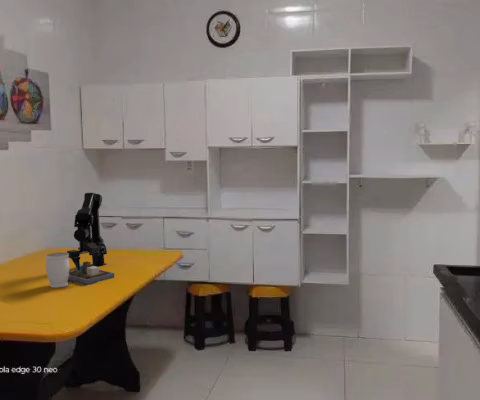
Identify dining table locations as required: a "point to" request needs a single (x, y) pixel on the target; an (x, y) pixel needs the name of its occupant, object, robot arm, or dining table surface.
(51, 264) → the jar
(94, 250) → the robot arm
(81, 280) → the tray
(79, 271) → the teal block
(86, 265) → the caddy
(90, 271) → the cream block
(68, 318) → the dining table surface
